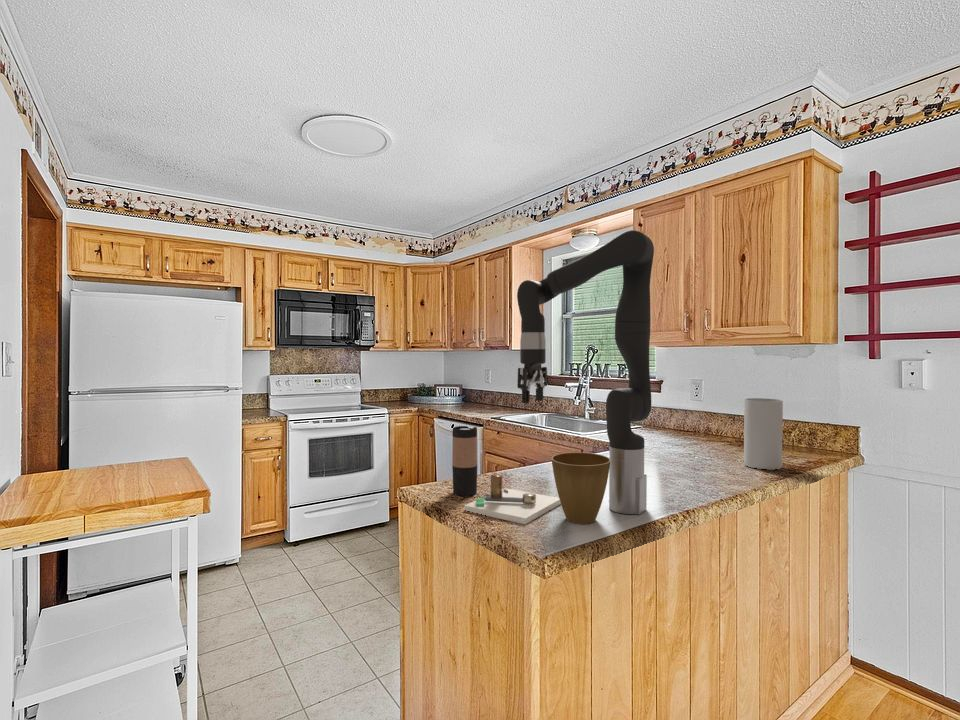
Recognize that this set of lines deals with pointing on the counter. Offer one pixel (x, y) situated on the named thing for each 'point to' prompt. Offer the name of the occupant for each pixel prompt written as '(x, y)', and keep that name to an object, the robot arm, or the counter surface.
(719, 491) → the counter surface
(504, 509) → the square base plate
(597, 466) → the plant pot
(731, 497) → the counter surface
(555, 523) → the counter surface
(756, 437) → the cylinder vase
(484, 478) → the counter surface
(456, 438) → the travel mug
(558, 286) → the robot arm
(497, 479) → the dial lever
